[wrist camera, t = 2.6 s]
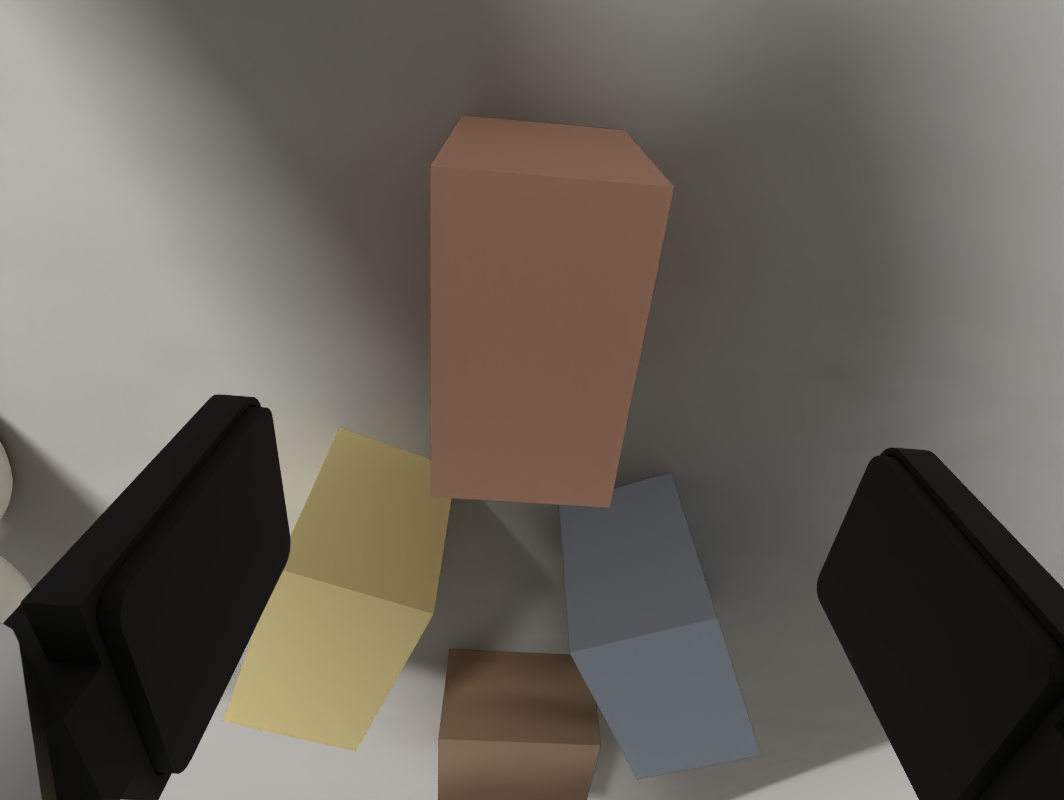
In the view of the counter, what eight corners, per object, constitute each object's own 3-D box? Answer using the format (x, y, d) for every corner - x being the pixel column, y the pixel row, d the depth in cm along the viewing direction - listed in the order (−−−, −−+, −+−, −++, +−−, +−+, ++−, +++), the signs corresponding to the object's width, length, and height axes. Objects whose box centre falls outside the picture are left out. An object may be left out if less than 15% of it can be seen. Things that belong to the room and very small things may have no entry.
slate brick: (559, 502, 22) (569, 653, 17) (670, 470, 21) (717, 617, 16) (614, 624, 25) (637, 779, 20) (711, 601, 24) (760, 755, 19)
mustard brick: (340, 426, 20) (276, 568, 15) (456, 467, 21) (433, 613, 16) (289, 566, 23) (223, 720, 18) (391, 595, 24) (355, 751, 19)
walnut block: (450, 644, 26) (438, 738, 23) (591, 650, 26) (600, 745, 23) (448, 748, 30) (437, 841, 27) (569, 752, 30) (574, 845, 27)
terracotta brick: (462, 114, 15) (430, 165, 10) (624, 129, 15) (674, 186, 10) (456, 366, 19) (430, 496, 14) (587, 375, 19) (609, 507, 14)
